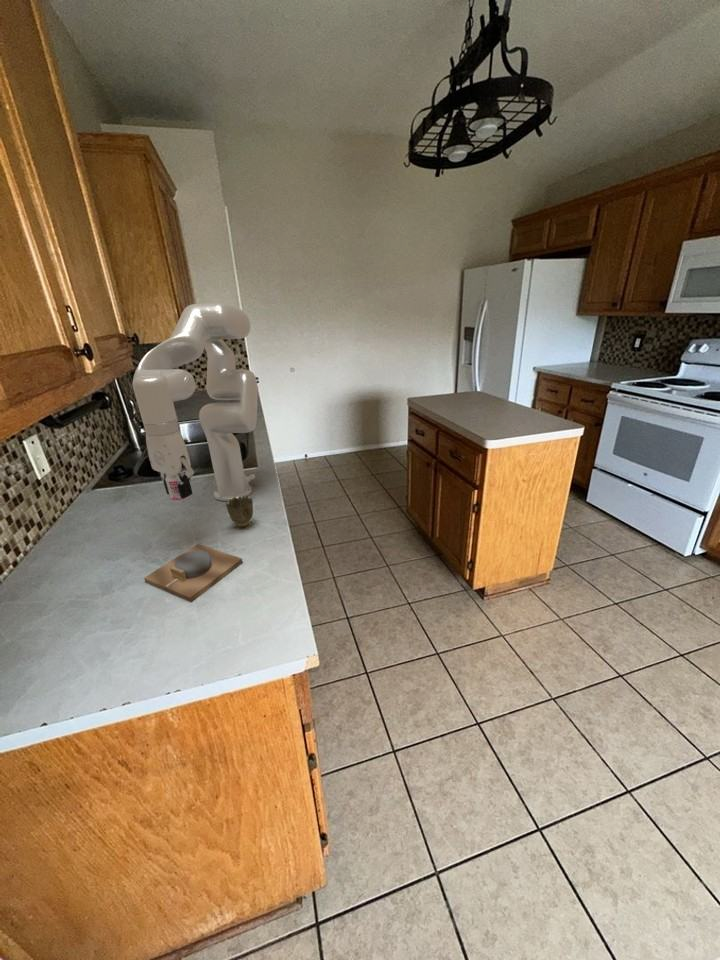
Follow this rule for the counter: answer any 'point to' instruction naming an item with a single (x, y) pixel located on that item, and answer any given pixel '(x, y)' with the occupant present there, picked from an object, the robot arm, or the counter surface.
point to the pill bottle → (174, 487)
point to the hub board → (198, 582)
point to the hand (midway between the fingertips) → (179, 493)
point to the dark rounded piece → (240, 510)
